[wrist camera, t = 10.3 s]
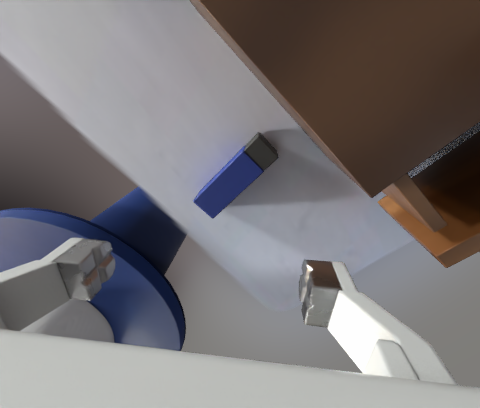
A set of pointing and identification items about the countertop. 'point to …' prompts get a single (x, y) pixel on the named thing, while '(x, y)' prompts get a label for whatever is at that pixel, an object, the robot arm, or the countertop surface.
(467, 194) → the drawer
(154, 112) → the countertop surface
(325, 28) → the cabinet
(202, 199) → the blue and gray block
